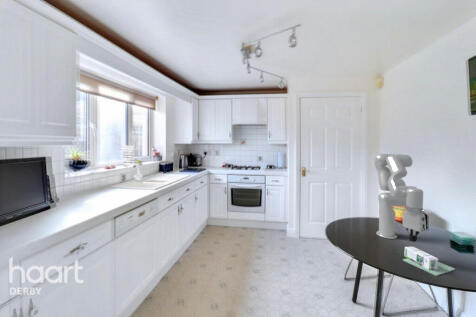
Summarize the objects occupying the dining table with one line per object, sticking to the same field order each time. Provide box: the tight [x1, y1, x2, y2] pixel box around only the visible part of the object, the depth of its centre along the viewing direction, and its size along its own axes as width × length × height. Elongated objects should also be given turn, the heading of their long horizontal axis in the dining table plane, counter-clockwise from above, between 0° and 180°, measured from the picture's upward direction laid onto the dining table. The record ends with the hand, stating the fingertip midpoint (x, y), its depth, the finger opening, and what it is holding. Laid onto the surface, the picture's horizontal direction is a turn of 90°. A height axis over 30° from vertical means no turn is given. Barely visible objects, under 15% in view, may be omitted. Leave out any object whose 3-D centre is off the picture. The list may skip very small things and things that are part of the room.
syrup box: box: [404, 246, 439, 270], centre depth 120 cm, size 6×6×14 cm
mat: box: [402, 258, 456, 277], centre depth 119 cm, size 16×16×1 cm
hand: (412, 241), depth 126 cm, fingers closed
